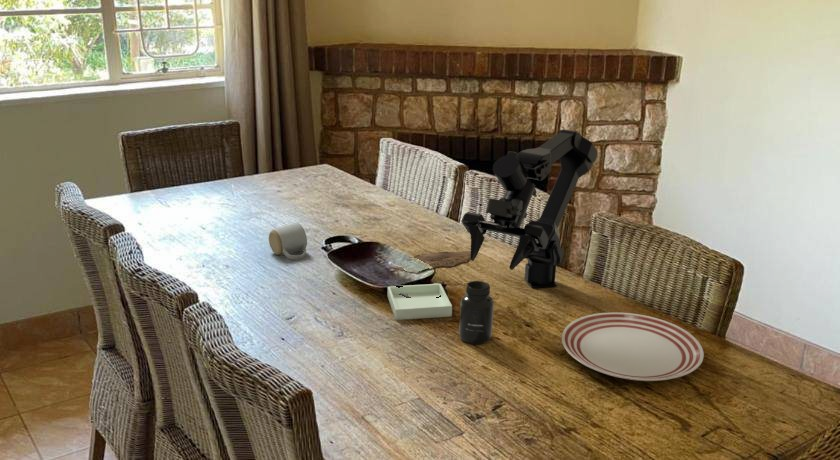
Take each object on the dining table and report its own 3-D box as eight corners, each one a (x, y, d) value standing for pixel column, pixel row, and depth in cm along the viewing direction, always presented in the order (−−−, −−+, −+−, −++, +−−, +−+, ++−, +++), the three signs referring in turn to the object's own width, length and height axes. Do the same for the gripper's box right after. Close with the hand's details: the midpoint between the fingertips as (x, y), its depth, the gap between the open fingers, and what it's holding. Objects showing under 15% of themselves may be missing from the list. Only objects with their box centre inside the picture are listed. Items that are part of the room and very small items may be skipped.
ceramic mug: (267, 251, 206) (266, 224, 204) (294, 245, 211) (293, 218, 209) (287, 264, 199) (285, 236, 196) (314, 257, 203) (313, 230, 201)
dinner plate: (681, 408, 137) (683, 391, 136) (539, 365, 151) (540, 350, 150) (715, 347, 159) (717, 332, 158) (588, 315, 173) (590, 301, 172)
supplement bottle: (469, 348, 157) (472, 294, 153) (453, 334, 162) (454, 281, 158) (498, 341, 160) (501, 288, 156) (480, 327, 165) (483, 276, 161)
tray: (440, 293, 182) (440, 283, 181) (451, 316, 170) (452, 306, 170) (387, 296, 180) (387, 286, 179) (395, 320, 168) (395, 309, 167)
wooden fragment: (403, 277, 192) (403, 273, 191) (384, 263, 201) (384, 259, 200) (490, 260, 203) (490, 257, 203) (468, 248, 212) (468, 244, 212)
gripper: (466, 176, 167) (440, 238, 162) (547, 190, 158) (521, 256, 153) (481, 202, 176) (457, 261, 171) (558, 216, 167) (534, 280, 162)
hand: (490, 264), depth 164 cm, fingers open, 9 cm apart
